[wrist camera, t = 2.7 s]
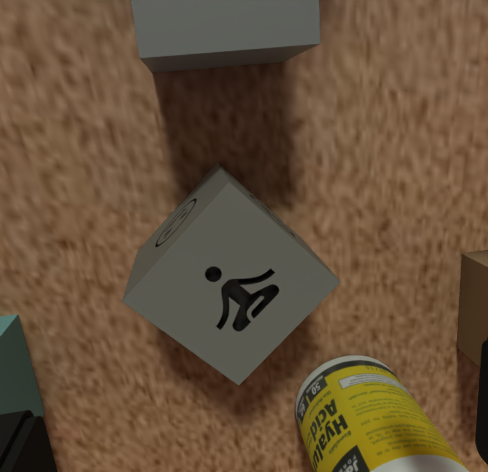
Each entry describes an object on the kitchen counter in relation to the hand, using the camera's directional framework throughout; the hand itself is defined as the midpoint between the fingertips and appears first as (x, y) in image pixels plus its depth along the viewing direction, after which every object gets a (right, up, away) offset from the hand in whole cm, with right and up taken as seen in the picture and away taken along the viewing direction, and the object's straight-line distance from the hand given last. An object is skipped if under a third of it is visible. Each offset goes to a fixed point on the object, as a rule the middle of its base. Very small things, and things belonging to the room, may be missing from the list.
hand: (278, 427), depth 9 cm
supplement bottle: (+4, -4, +13) cm, 14 cm away
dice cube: (-2, +4, +10) cm, 11 cm away
